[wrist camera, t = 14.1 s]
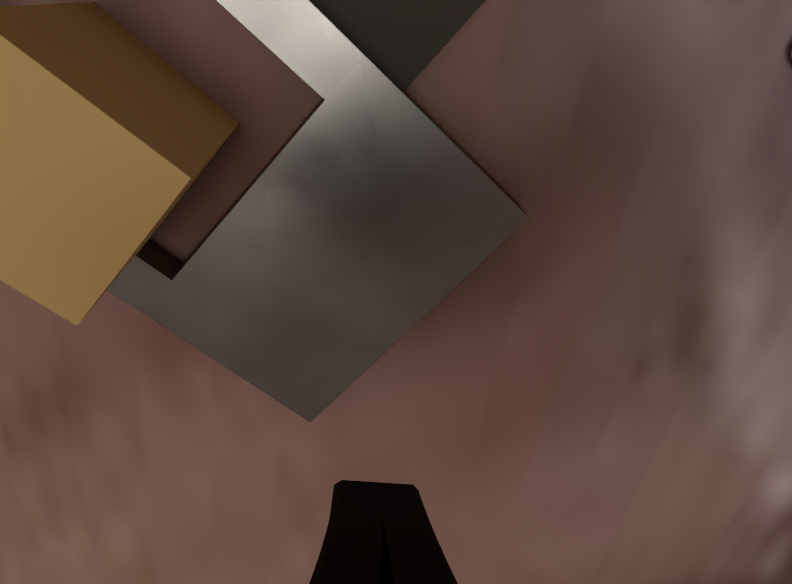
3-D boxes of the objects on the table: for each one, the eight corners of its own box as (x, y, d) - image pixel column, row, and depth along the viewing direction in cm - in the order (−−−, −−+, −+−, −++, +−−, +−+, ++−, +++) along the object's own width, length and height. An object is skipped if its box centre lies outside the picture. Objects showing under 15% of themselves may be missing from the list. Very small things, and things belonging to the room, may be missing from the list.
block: (240, 122, 16) (191, 178, 11) (153, 233, 18) (77, 325, 13) (94, 2, 15) (-36, 8, 10) (11, 134, 16) (-138, 197, 11)
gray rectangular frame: (519, 204, 18) (547, 242, 15) (312, 400, 21) (305, 459, 18) (72, -238, 13) (-4, -299, 10) (-120, 110, 16) (-218, 134, 13)
